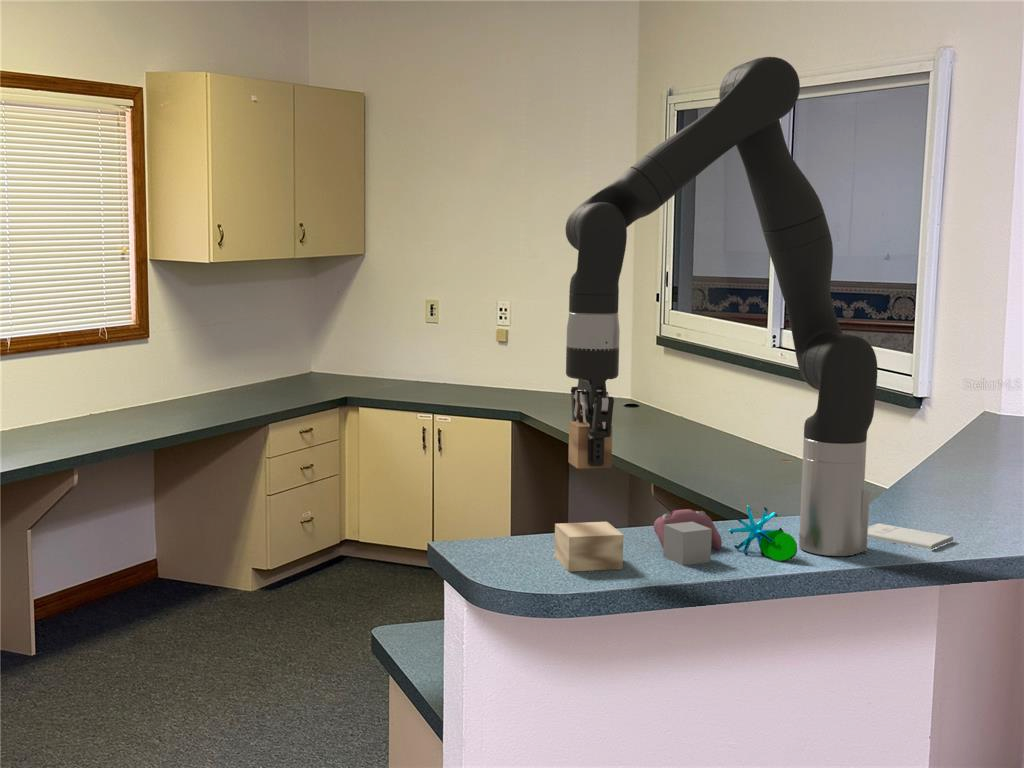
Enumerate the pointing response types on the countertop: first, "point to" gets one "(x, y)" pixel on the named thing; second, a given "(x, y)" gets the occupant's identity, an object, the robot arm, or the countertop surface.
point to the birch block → (588, 546)
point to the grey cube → (687, 543)
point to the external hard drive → (907, 536)
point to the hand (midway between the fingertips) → (590, 461)
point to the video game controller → (687, 516)
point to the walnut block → (585, 446)
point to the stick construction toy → (767, 538)
